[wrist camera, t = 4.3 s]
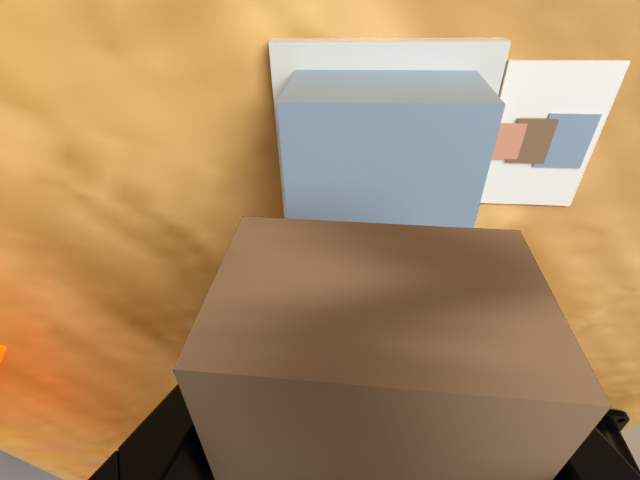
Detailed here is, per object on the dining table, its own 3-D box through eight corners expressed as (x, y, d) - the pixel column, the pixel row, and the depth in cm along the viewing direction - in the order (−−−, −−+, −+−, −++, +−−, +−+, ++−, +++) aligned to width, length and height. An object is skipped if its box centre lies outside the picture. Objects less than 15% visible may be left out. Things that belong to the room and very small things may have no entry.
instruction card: (627, 60, 15) (633, 62, 15) (568, 203, 19) (571, 208, 19) (508, 59, 16) (510, 62, 15) (473, 200, 19) (475, 204, 19)
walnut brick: (519, 230, 8) (610, 406, 5) (461, 391, 12) (493, 553, 9) (242, 215, 9) (173, 369, 6) (266, 374, 12) (231, 522, 9)
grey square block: (505, 37, 15) (551, 69, 11) (460, 230, 20) (480, 296, 17) (272, 38, 16) (241, 68, 12) (287, 223, 21) (269, 284, 17)
